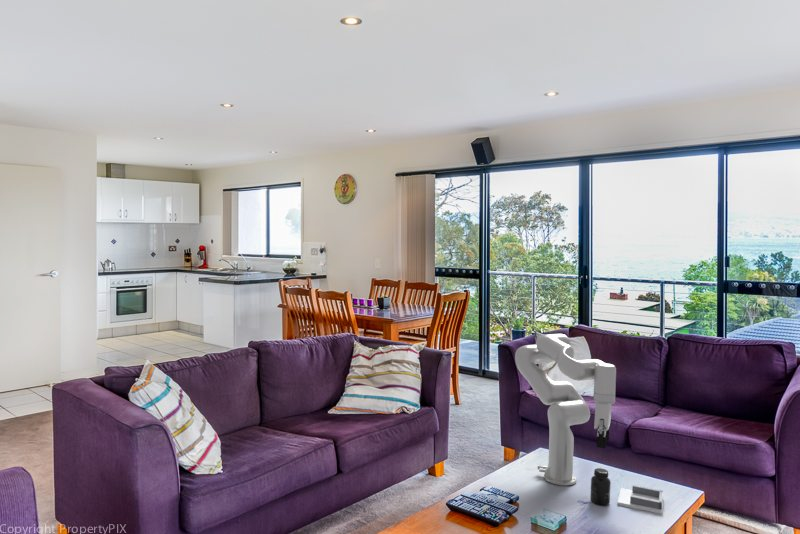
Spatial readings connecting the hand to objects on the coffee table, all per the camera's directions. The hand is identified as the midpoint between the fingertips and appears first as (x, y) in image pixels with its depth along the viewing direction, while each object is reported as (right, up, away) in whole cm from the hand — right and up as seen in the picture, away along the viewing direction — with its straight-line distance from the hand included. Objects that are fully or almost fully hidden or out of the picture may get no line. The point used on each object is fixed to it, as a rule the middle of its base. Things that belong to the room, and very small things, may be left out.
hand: (602, 443), depth 213 cm
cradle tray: (+15, -23, +2) cm, 27 cm away
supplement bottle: (-1, -22, +1) cm, 22 cm away
